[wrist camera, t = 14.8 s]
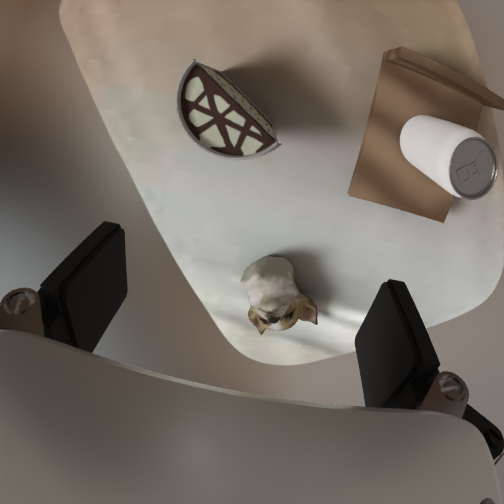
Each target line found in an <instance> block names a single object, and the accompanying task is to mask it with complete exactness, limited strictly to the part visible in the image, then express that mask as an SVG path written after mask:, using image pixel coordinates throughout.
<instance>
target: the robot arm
mask: <svg viewBox="0 0 504 504" xmlns="http://www.w3.org/2000/svg"><path fill="white" fill-rule="evenodd" d="M40 286H41V288H40V290H39V291H38V292H36V291H35V290H33V289H31V288H18V289H15V290H12V291H11V292H9V293H8V294H6V295H5V296H4V297H3V299H2V301H1V303H0V504H504V452H503V449H504V439H503V436H502V434H501V432H500V430H499V429H498V428H497V427H496V426H495V425H494V424H492V423H491V422H490V421H489V420H487V419H486V418H485V417H484V416H482V415H481V414H480V413H478V412H477V411H476V410H475V409H473V408H472V407H471V406H469V405H468V404H467V402H468V399H469V391H468V388H467V386H466V384H465V382H464V381H463V380H462V379H461V378H460V377H459V376H458V375H456V374H454V373H452V372H448V371H445V372H441V373H439V370H438V367H439V366H440V362H439V360H438V357H437V355H436V352H435V350H434V347H433V345H432V343H431V340H430V338H429V335H428V333H427V331H426V328H425V326H424V323H423V321H422V319H421V317H420V314H419V312H418V310H417V308H416V305H415V303H414V301H413V299H412V297H411V295H410V293H409V291H408V288H407V286H406V284H405V283H404V282H402V281H397V280H392V279H389V280H388V281H387V282H384V283H383V284H382V285H381V287H380V289H379V291H378V293H377V295H376V298H375V300H374V302H373V304H372V306H371V308H370V310H369V312H368V314H367V315H366V317H365V319H364V321H363V323H362V325H361V327H360V329H359V331H358V333H357V335H356V338H355V347H356V353H357V358H358V363H359V369H360V375H361V381H362V387H363V393H364V399H365V406H366V407H359V406H345V405H333V404H322V403H313V402H304V401H297V400H289V399H282V398H275V397H268V396H262V395H256V394H250V393H244V392H239V391H234V390H228V389H223V388H218V387H214V386H209V385H204V384H200V383H195V382H191V381H187V380H183V379H178V378H175V377H171V376H167V375H163V374H159V373H155V372H152V371H148V370H145V369H141V368H138V367H134V366H131V365H127V364H124V363H121V362H118V361H115V360H111V359H108V358H105V357H102V356H99V355H96V354H93V353H92V352H93V351H94V349H95V347H96V345H97V344H98V342H99V340H100V338H101V337H102V335H103V333H104V332H105V330H106V329H107V327H108V325H109V324H110V322H111V320H112V319H113V317H114V315H115V314H116V312H117V311H118V309H119V307H120V306H121V304H122V302H123V301H124V299H125V298H126V295H127V289H128V288H127V273H126V255H125V232H124V229H121V226H120V225H119V224H117V223H112V222H107V221H104V222H103V223H102V224H101V225H100V226H99V227H97V228H96V229H95V230H94V231H93V232H92V233H91V234H90V235H89V236H88V237H87V238H86V239H85V240H84V241H83V242H82V243H81V244H80V245H79V246H78V247H76V249H75V250H73V251H72V252H71V253H70V254H69V256H67V258H65V259H64V260H63V261H62V263H61V264H60V265H59V266H58V267H57V268H56V269H55V270H54V271H53V272H52V273H51V274H50V275H49V276H48V277H47V278H46V279H45V280H44V281H43V282H42V284H41V285H40Z"/></svg>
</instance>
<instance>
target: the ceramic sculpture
mask: <svg viewBox="0 0 504 504" xmlns="http://www.w3.org/2000/svg"><path fill="white" fill-rule="evenodd" d="M293 272H294V269H293V266H292V265H291V263H290V262H289V261H288V260H287V259H285V258H283V257H272V256H266V257H263V258H261V259H259V260H258V261H256V262H254V263H252V264H251V265H250V266H249V267H247V268H246V270H245V271H244V273H243V276H242V278H241V283H242V284H243V286H245V288H246V289H247V291H248V299H249V303H250V305H251V307H250V309H249V312H248V316H249V320H250V321H251V322H252V323H253V324H254V325H255V326H256V327H257V328H258V331H259V333H260V334H261V335H262V334H263V332H264V330H265V329H268V330H272V331H282V330H286V329H289V328H291V327H292V326H293V325H295V323H296V322H297V320H298V319H300V320H303V321H310V322H312V323H314V324H316V325H317V324H318V323H317V307H316V305H315V304H314V302H313V301H312V300H311V299H310V298H308V297H307V296H305V295H304V294H302V293H299V291H298V288H297V286H296V285H295V282H294V279H293Z"/></svg>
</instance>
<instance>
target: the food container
mask: <svg viewBox="0 0 504 504" xmlns="http://www.w3.org/2000/svg"><path fill="white" fill-rule="evenodd" d="M176 110H177V114H178V118H179V121H180V123H181V126H182V128H183V129H184V131H185V132H186V134H187V136H188V137H189V138H190V139H191V140H192V141H193V142H194V143H195V144H196V145H197V146H199V147H200V148H201V149H203V150H204V151H206V152H208V153H210V154H212V155H215V156H217V157H221V158H225V159H232V160H246V159H251V158H256V157H259V156H262V155H265V154H267V153H269V152H271V151H273V150H275V149H276V148H278V147H279V146H280V145H282V144H281V143H280V144H279V143H278V141H277V137H276V132H275V127H274V124H273V123H272V122H271V121H270V120H269V119H268V118H267V117H266V115H265V114H264V113H263V112H262V111H261V110H260V109H259V108H258V107H257V106H256V105H255V104H254V103H253V102H252V101H251V100H250V99H249V98H248V97H247V96H246V95H245V94H244V93H243V92H242V91H241V90H240V89H239V88H238V87H237V86H236V85H235V84H233V83H232V82H231V81H230V80H229V79H228V78H227V77H226V76H225V75H224V74H223V73H222V72H221V71H218V70H216V69H213V68H211V67H208V66H206V65H203V64H201V63H198V62H195V59H193V60H192V61H191V62H190V63H189V65H188V66H187V67H186V69H185V70H184V72H183V74H182V76H181V78H180V81H179V83H178V87H177V91H176Z"/></svg>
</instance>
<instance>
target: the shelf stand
mask: <svg viewBox="0 0 504 504" xmlns="http://www.w3.org/2000/svg"><path fill="white" fill-rule="evenodd" d="M482 105H484V106H488V107H493V108H497V109H500V110H504V99H503V98H501V97H499V96H498V95H496V94H495V93H493V92H492V91H490V90H488V89H487V88H485V87H483V86H482V85H480V84H478V83H476V82H475V81H473V80H471V79H469V78H468V77H466V76H464V75H462V74H460V73H458V72H456V71H455V70H453V69H451V68H449V67H447V66H445V65H443V64H441V63H439V62H436V61H434V60H432V59H430V58H428V57H426V56H423V55H421V54H419V53H417V52H414V51H412V50H409V49H407V48H405V47H400V48H396V49H392V50H389V51H385V52H384V54H383V58H382V63H381V68H380V72H379V77H378V81H377V86H376V90H375V94H374V98H373V102H372V106H371V110H370V114H369V118H368V122H367V126H366V130H365V134H364V138H363V141H362V145H361V149H360V152H359V156H358V159H357V163H356V166H355V170H354V173H353V177H352V180H351V183H350V187H349V190H348V194H349V196H352V197H356V198H360V199H364V200H367V201H371V202H375V203H378V204H382V205H386V206H389V207H393V208H396V209H400V210H403V211H407V212H410V213H413V214H417V215H420V216H423V217H426V218H430V219H433V220H436V221H439V222H442V223H444V221H445V219H446V216H447V214H448V211H449V209H450V206H451V204H452V201H453V198H454V195H452V194H450V193H449V192H448V191H446V190H445V189H444V188H442V187H441V186H440V185H438V184H437V183H436V182H435V181H433V180H432V179H431V178H429V177H428V176H427V175H425V174H424V173H423V172H421V171H420V170H419V169H417V168H416V167H415V166H413V165H412V164H411V163H410V162H409V161H408V160H407V159H406V158H405V157H404V155H403V153H402V150H401V147H400V135H401V131H402V129H403V127H404V125H405V124H406V122H407V121H408V120H410V119H411V118H413V117H415V116H418V115H428V116H432V117H436V118H439V119H442V120H446V121H449V122H452V123H455V124H458V125H461V126H464V127H466V128H469V129H471V130H474V131H476V127H477V124H478V120H479V116H480V112H481V108H482Z"/></svg>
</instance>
